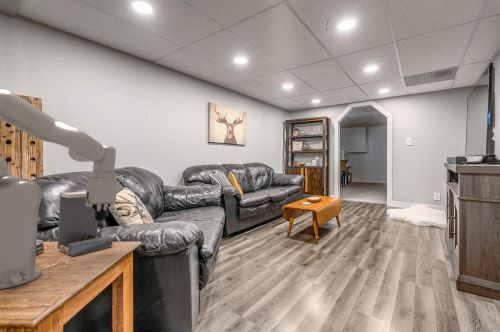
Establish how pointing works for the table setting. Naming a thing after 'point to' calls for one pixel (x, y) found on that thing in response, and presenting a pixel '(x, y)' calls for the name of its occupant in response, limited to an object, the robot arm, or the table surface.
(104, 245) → the long grey base block
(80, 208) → the upright grey panel
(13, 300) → the table surface
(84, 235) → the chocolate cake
